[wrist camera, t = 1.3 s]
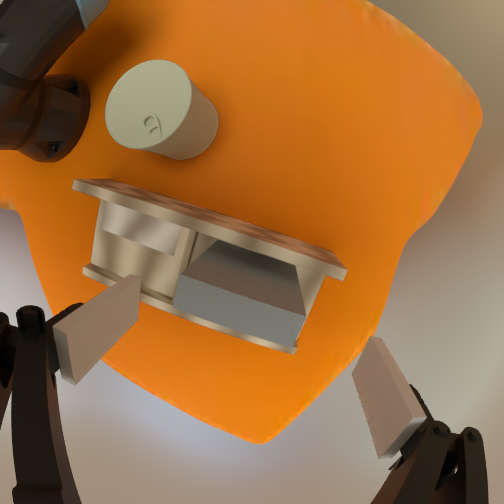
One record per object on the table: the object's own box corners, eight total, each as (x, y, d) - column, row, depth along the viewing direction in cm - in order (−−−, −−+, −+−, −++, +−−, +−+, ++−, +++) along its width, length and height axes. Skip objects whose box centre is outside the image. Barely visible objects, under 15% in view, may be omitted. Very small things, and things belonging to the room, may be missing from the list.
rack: (93, 268, 38) (61, 284, 30) (109, 178, 34) (74, 179, 27) (293, 343, 37) (295, 377, 30) (332, 251, 34) (347, 270, 26)
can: (165, 172, 34) (116, 167, 22) (143, 114, 32) (93, 91, 20) (230, 140, 32) (206, 117, 20) (203, 81, 30) (172, 41, 19)
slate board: (211, 261, 35) (172, 307, 21) (218, 239, 34) (180, 273, 20) (287, 287, 35) (291, 348, 21) (295, 265, 34) (306, 316, 20)
